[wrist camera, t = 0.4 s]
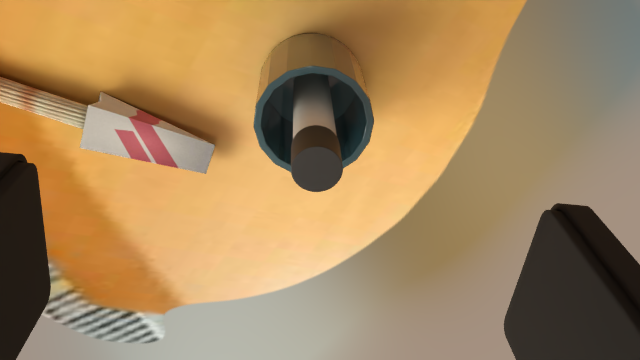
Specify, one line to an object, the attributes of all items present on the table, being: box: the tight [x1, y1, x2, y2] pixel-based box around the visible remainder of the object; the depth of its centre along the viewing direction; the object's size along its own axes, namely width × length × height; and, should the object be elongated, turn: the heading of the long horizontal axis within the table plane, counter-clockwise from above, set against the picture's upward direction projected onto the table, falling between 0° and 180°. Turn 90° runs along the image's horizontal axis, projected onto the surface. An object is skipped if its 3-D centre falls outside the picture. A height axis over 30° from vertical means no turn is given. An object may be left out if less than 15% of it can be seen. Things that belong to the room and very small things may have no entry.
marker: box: [291, 73, 343, 192], centre depth 40 cm, size 3×3×14 cm
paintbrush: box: [0, 77, 215, 174], centre depth 46 cm, size 4×3×20 cm
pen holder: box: [254, 33, 374, 172], centre depth 43 cm, size 8×8×8 cm
